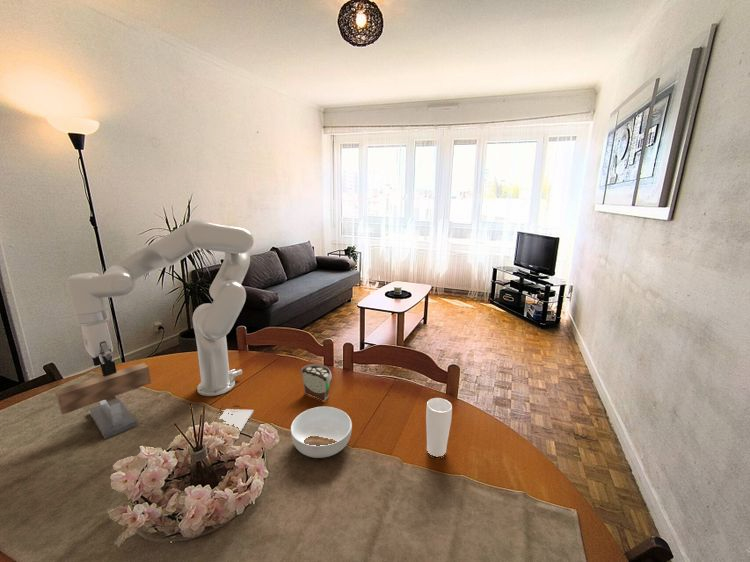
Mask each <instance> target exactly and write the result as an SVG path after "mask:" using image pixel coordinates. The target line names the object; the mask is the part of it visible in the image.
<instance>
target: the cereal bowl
mask: <svg viewBox="0 0 750 562" xmlns="http://www.w3.org/2000/svg"><path fill="white" fill-rule="evenodd" d="M352 430H353V422H352V419H351V417H350V416H349V415H348V414H347V412H345V411H343V410H342V409H340V408H336V407H334V406H333V407H332V406H316V407H313V408H308V409H306V410H305V411H302V412H301V413H299V414H298V415H297V416H296V417H295V418H294V419H293V421H292V422H291V426H290V434H291V435H290V437H291V440H292V444H293V445H294V447H295V448H296V450H298V452H300V453H301V454H302V455H305V456H307V457H310V458H315V459H319V458H320V459H322V458H329V457H331V456H334V455H336V454H338V453H339V452H341V451H342V450H343V449H345V447H346V446H347V444H348V443H349V441H350V439H351V435H352ZM310 436H319V437H323V438H328V439H333V440H335V441H337V442H335V443H332V444H328V445H320V446H316V445H309V444H305V443H304V440H305V439H306V438H308V437H310Z"/></svg>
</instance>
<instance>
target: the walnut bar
mask: <svg viewBox="0 0 750 562" xmlns="http://www.w3.org/2000/svg"><path fill="white" fill-rule="evenodd" d="M116 371H117V372H116V373H115V374H112V375H109V376H106V377H104V376H103V375H100V376H96V377H93V378H90V379H88V380H84V381H81V382H78V383H73V384H71V385H68V386H65V387H62V388H61V387H60V388H58V389H54V392H55V393H54V394H55V396H56V400H57V406H58V409H59V411H60V413H61V415H66V414H68V413H70V412H73V411H77V410H80V409H82V408H85V407H89V406H91V405H94V404H97V403H100V401H102V400H105V399H108V398H111V397H114V396H115V397H116V396H119V395H122V394H125V393H128V392H131V391H133V390H135V389H139V388H141V387H145V386H147V385H150V384H152V382H151V375H150V374H151V373H150V368H149V366H148V365H147V364H146V363H145V362H141V363H139V364H135V365H132V366H129V367H125V368H123V369H118V370H116Z"/></svg>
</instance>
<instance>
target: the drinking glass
mask: <svg viewBox="0 0 750 562" xmlns="http://www.w3.org/2000/svg"><path fill="white" fill-rule="evenodd" d="M425 410H426V412H425V422H426V423H425V426H426V429H425V430H426V452H427V451H428V452H427V454H428V453H429V454H430V455H433V456H436V457H438V456H443V455H444V454H445V453H446V454H447V447H448V441H449V434H450V430H451V424H452V415H453V405H452V403H451V402H450V401H448V399H445V398H441V397H433V398H430V399H429V400H428V401H427V402H426V409H425ZM429 454H428V455H429ZM446 454H445V455H446ZM430 455H429V456H430ZM443 457H444V456H443Z"/></svg>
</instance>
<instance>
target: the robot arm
mask: <svg viewBox="0 0 750 562" xmlns="http://www.w3.org/2000/svg"><path fill="white" fill-rule="evenodd" d="M254 241H255V240H254V237H253V234H252V233H251V232H250V230H248V229H246V228H243V227H239V226H236V225H223V224H216V223H212V222H209V221H204V220H201V219H193V220H190V221H188V222H186V223H184V224H182V225H180V226H179V227H177V228H176V229H173V231H170V232H169V233H167V234H166V235H165V236H163V237H161V238H159V239H157V240H156V241H154V242H153V243H152V242H151V244H148V245H146V246H145V247H143V248H141V249H140V250H138V251H136V252H133V253H132V254H130V255H128V256H126V257H123V259H121V260H120V261H118V262H116V263H114V264H113V265H112V266H110V267H108V268H107V269H106V270H105V272H103V274H99V273H97V272H84V273H83V272H82V273H77V274H73V275H71V276H69V277H68V278H67V279H66V285H67V288H68V292H69V297H70V300H71V305H72V309H73V313H74V316H75V320H76V321H75V322H76V324H77V325H78V326H80V327H81V332H82V338H83V342H84V343H83V344H84V347H85V351H86V352H87V353H88V354H89V355H90V357H92V362H93V366H95V367H97V366H100V369H101V372H102V376H104V377H106V376H109V375H112V374H115V373H116V372H117V371H118V370H117V367H116V363H115V360H114V356H113V354H112V353H113V352H114V348H113V342H112V338H111V334H110V330H109V326H108V322H107V321H109V320H110V319H111V316H110V310H109V306H108V302H107V301H108V300H107V298H121V297H126V296H129V295H131V294H132V293H133V292H134V291H135V289H136V286H137V284H136V283H137V282H136V281H138V280H139V279H141V278H143V277H144V276H146V275H147V274H150V273H152V272H153V271H155V270H158V269H164V268H169V267H171V266H175V265H176V264H177V263H179V262H180V261H182V260H183V259H184V258H186V257H188V256H189V255H191V254H192V253H193V252H196V251H197V250H198V249H200V250H206V251H211V252H212V251H213V252H221V253H222V252H223V253H224V259H223V262H222V264H221V266H220V268H219V270H218V272H217V274H216V275H215V278H214V279H213V281H212V283H211V285H210V286H209V291H208V293H209V295H210V297H211V298H212V300H213V301H212V302H211V303H209V302H208V303H203V304H200V305H198V307H196V308H195V310H194V312H193V314H192V326H193V330H194V331H193V332H194V335H195V336H194V337H195V342H196V348H197V355H198V356H197V357H198V364H199V374H200V382H199V384H198V385H197V387H196V389H197V393H198V394H199V395H201V396H205V397H214V396H215V397H216V396H219V395H222V394H225V393H227V392H229V391H231V390H232V389H234V386H235V385H236V380H235V378H236V377H237V376H240V375H242V374H244V373H243V370H242V369H236V368H233V369H231V370H230V364H229V356H228V355H229V354H228V342H227V335H228V334H229V333H230V332H231V330H232V329H233V327H234V325H235V323H236V321H237V319H238V317H239V315H240V313H241V312H242V309H243V307H244V305H245V302H246V299H247V292H246V289H245V287H244V286H243V285H242V284H243V282H244V279H245V277H246V275H247V273H248V269H249V267H250V264H251V254H250V253H251V252H250V250H251V249H252V248H253V245H254Z"/></svg>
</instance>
